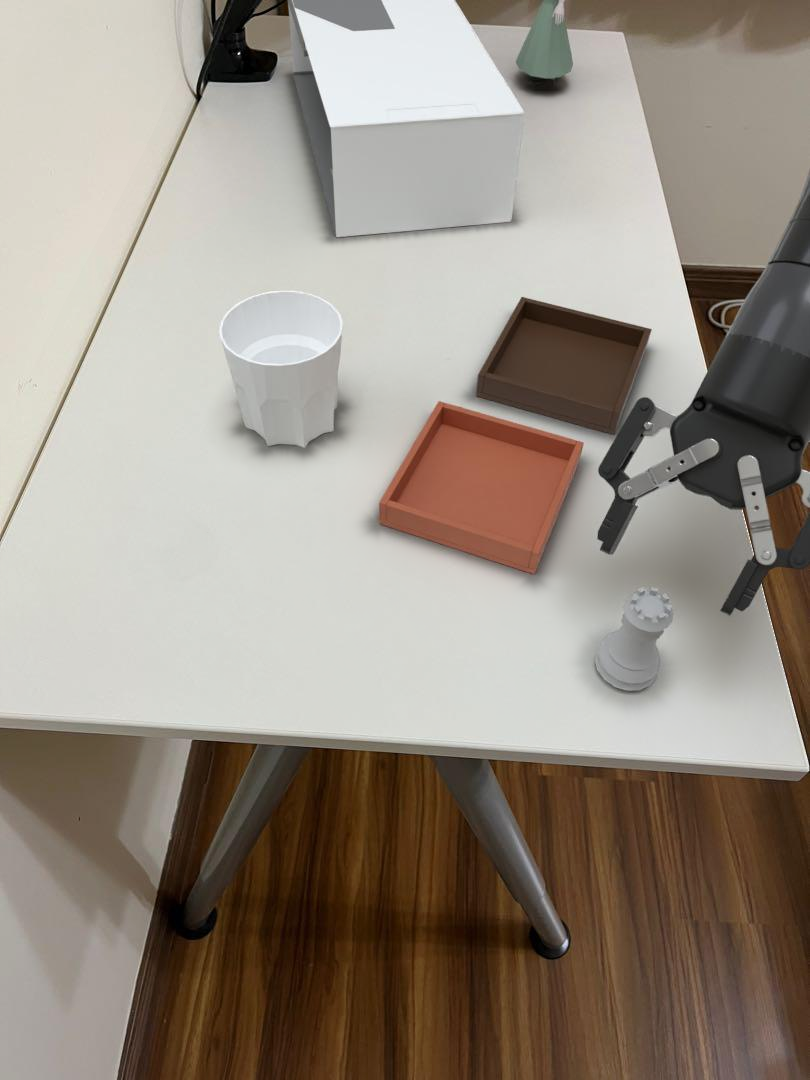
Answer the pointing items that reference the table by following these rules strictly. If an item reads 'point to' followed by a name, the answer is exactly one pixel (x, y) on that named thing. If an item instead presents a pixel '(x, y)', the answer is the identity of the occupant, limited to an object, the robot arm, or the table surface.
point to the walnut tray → (564, 364)
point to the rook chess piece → (635, 641)
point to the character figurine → (547, 46)
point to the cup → (284, 364)
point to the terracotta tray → (482, 486)
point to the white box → (404, 115)
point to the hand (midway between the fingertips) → (664, 582)
